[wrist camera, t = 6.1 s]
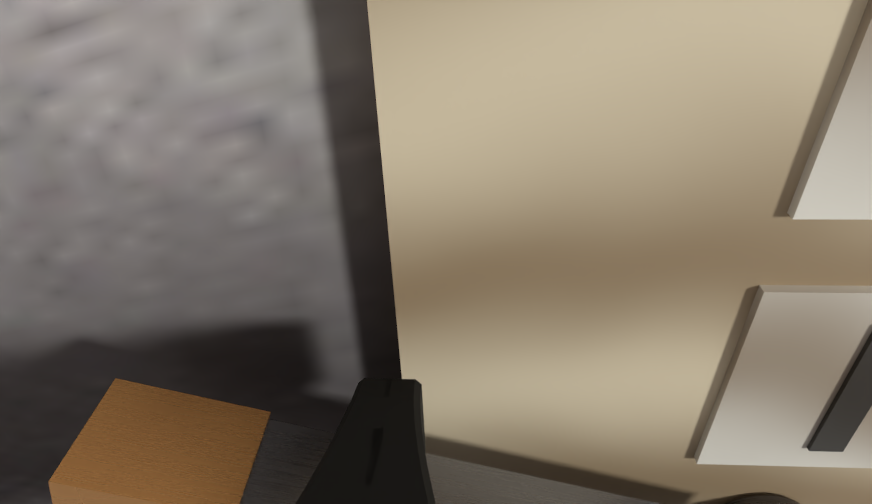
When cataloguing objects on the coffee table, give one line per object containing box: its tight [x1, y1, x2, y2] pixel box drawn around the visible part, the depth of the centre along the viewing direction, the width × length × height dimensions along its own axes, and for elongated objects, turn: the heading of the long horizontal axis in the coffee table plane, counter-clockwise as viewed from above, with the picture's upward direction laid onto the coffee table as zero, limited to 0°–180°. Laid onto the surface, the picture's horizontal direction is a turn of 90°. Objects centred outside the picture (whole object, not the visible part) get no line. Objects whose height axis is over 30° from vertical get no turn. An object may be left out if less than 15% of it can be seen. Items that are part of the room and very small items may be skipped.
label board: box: [367, 0, 872, 504], centre depth 11 cm, size 18×16×1 cm
